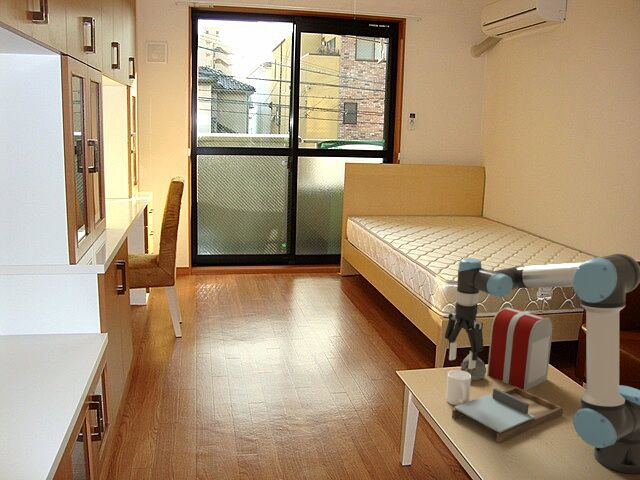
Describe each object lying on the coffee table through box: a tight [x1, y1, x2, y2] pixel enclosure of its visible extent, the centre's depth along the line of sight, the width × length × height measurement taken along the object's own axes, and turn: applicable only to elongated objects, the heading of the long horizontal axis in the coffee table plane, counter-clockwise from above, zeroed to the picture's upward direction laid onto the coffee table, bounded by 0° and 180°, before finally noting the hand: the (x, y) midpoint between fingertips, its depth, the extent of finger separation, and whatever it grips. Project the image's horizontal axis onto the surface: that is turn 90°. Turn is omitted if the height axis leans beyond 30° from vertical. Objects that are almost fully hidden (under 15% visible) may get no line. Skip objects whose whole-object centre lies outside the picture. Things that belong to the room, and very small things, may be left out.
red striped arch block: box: [486, 306, 553, 391], centre depth 247 cm, size 16×18×27 cm
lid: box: [453, 387, 535, 433], centre depth 213 cm, size 19×18×4 cm
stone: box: [460, 353, 487, 381], centre depth 249 cm, size 10×10×10 cm
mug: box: [445, 369, 472, 407], centre depth 226 cm, size 12×8×10 cm
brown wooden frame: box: [451, 386, 564, 444], centre depth 218 cm, size 20×34×3 cm, turn 126°
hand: (461, 363), depth 224 cm, fingers open, 8 cm apart
